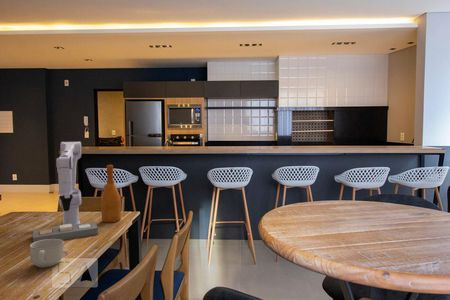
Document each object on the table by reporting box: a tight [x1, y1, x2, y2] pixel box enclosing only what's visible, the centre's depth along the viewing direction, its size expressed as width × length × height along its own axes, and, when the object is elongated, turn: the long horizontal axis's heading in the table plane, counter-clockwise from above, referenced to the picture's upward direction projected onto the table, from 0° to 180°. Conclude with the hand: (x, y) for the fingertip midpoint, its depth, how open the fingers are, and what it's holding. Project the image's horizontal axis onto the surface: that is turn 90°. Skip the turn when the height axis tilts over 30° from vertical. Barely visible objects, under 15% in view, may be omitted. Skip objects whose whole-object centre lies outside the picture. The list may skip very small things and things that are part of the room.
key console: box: [32, 221, 99, 243], centre depth 148 cm, size 12×26×3 cm, turn 121°
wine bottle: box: [100, 164, 122, 223], centre depth 170 cm, size 10×10×30 cm
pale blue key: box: [78, 224, 91, 229], centre depth 152 cm, size 5×5×2 cm
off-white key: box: [58, 224, 72, 232], centre depth 147 cm, size 5×5×2 cm
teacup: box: [29, 239, 65, 268], centre depth 115 cm, size 14×11×8 cm
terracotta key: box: [39, 229, 53, 235], centre depth 143 cm, size 5×5×2 cm
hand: (66, 210), depth 151 cm, fingers closed
